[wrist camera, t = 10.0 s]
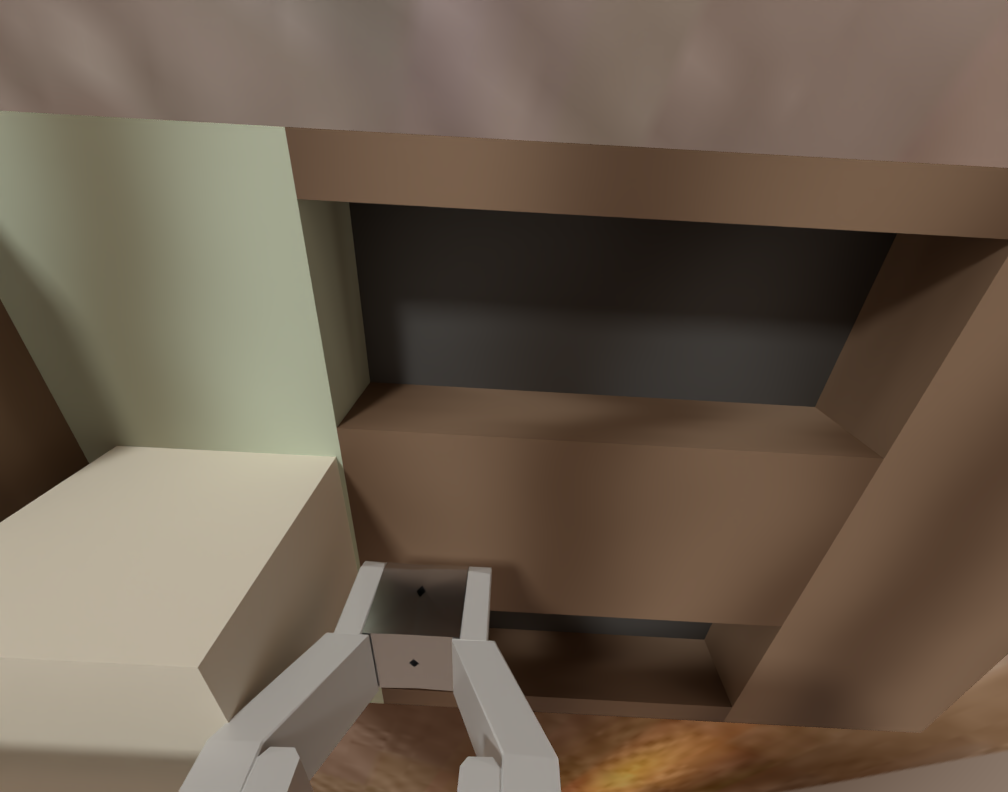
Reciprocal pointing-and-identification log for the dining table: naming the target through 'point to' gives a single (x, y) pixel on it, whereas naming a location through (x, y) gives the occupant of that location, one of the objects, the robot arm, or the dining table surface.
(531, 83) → the dining table surface
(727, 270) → the box
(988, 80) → the dining table surface
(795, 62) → the dining table surface
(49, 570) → the cream block
